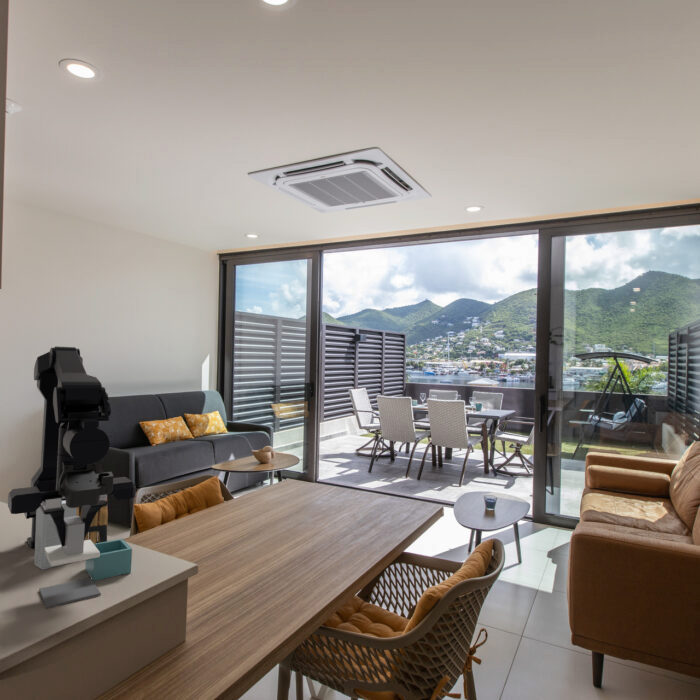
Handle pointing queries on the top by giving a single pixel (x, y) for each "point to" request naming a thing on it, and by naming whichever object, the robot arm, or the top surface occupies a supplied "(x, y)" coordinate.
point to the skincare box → (47, 534)
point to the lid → (72, 545)
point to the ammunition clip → (97, 526)
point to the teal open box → (110, 560)
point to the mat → (69, 592)
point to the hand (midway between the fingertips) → (72, 544)
